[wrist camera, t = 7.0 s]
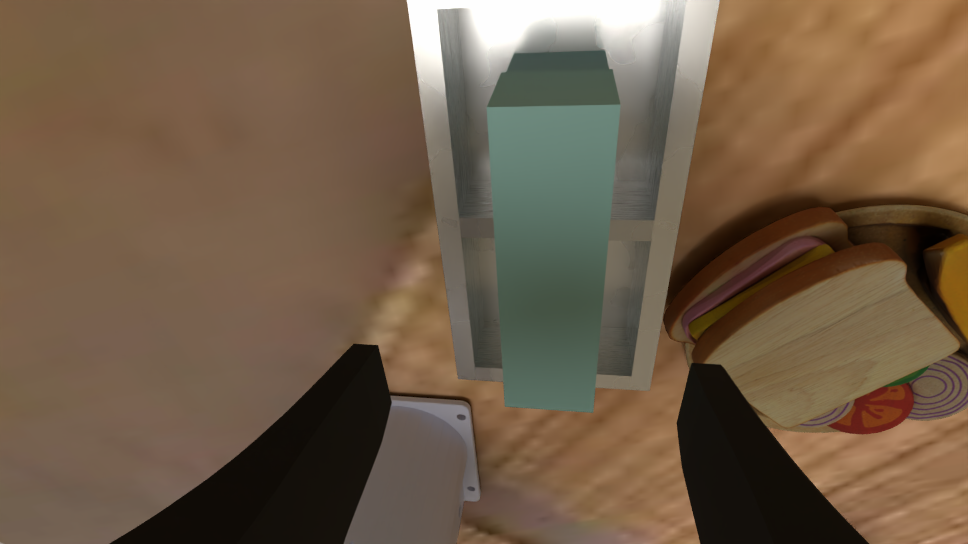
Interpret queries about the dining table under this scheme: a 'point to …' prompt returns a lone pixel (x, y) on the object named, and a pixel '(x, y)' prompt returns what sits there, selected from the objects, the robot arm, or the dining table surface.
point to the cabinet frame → (638, 168)
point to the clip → (552, 221)
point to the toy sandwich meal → (838, 318)
